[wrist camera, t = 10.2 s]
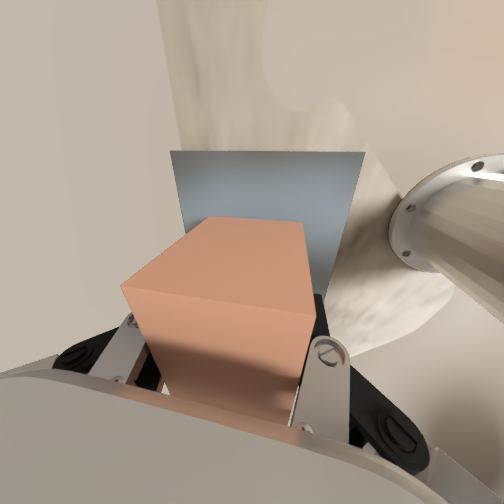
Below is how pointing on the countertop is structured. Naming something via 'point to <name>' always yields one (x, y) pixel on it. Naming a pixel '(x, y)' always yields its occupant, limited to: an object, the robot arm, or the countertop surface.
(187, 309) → the terracotta brick
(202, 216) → the shiny metal block
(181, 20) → the countertop surface
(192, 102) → the countertop surface
